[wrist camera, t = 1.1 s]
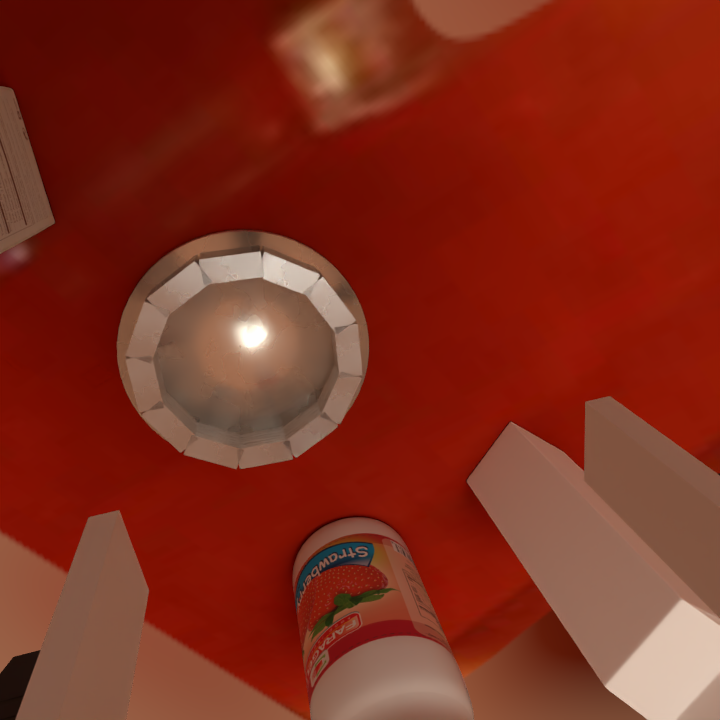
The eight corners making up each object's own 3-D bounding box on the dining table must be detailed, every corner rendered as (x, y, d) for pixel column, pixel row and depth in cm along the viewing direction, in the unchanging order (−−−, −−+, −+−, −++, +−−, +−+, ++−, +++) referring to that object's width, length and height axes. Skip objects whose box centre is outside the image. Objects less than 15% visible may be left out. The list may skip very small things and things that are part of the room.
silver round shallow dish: (89, 247, 35) (78, 256, 32) (355, 214, 37) (364, 220, 34) (150, 477, 41) (145, 500, 38) (375, 435, 43) (384, 455, 41)
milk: (464, 480, 46) (641, 749, 26) (510, 419, 45) (732, 652, 25) (520, 508, 48) (723, 777, 28) (565, 450, 47) (811, 689, 27)
